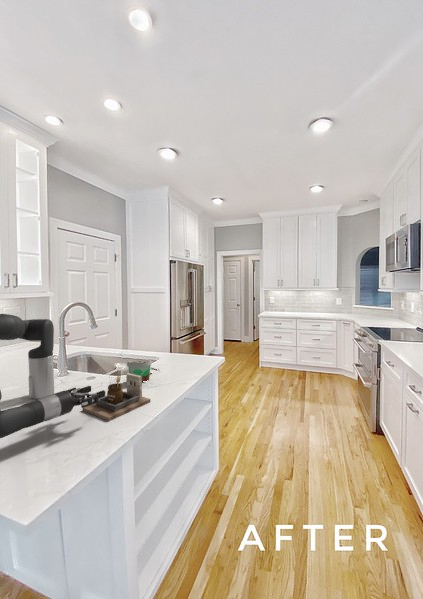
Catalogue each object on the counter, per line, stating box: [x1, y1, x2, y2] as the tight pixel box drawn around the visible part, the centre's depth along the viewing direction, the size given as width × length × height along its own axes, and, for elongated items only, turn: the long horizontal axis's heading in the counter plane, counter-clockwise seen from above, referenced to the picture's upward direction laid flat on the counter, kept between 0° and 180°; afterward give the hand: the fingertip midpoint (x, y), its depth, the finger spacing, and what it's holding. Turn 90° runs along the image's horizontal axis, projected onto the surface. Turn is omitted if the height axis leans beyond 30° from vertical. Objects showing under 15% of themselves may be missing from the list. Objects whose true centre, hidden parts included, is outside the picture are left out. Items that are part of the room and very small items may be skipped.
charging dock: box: [82, 372, 151, 422], centre depth 116 cm, size 20×16×10 cm
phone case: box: [150, 366, 162, 374], centre depth 164 cm, size 7×1×15 cm
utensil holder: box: [106, 373, 124, 405], centre depth 117 cm, size 6×6×12 cm
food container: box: [126, 359, 153, 383], centre depth 145 cm, size 12×6×10 cm, turn 105°
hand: (97, 390), depth 109 cm, fingers open, 8 cm apart
